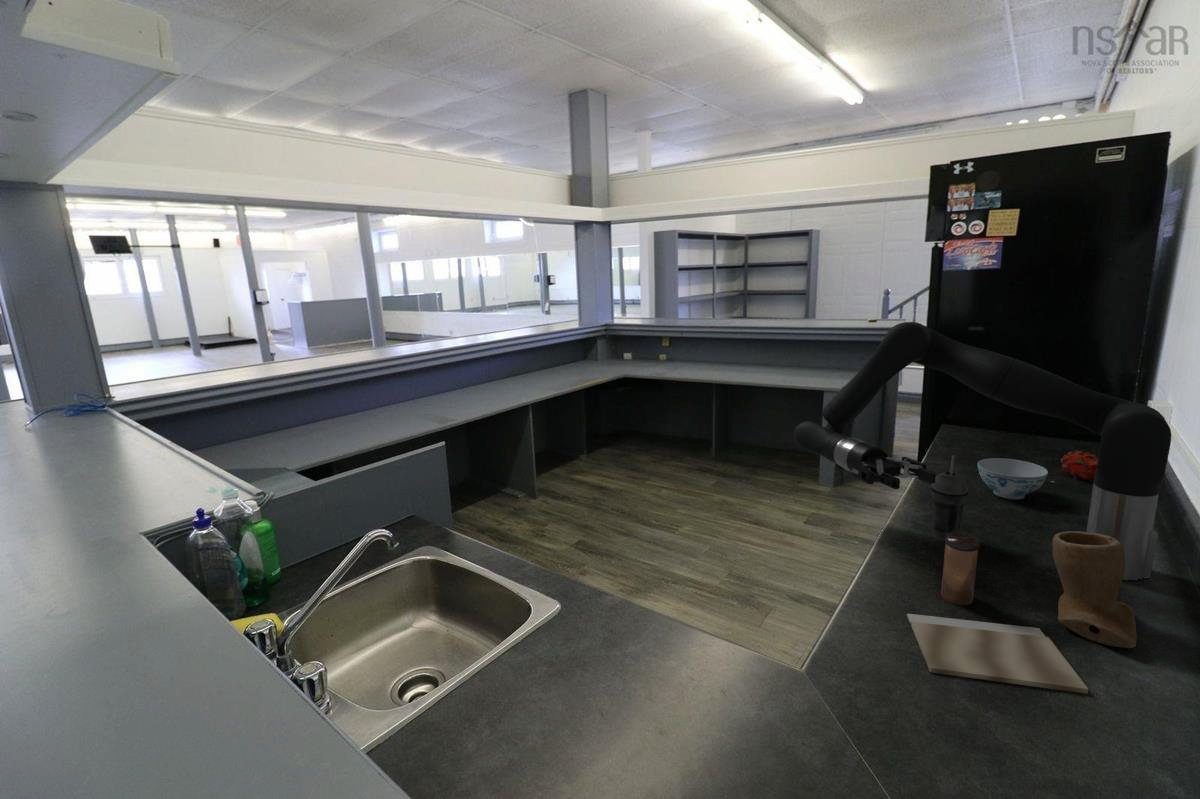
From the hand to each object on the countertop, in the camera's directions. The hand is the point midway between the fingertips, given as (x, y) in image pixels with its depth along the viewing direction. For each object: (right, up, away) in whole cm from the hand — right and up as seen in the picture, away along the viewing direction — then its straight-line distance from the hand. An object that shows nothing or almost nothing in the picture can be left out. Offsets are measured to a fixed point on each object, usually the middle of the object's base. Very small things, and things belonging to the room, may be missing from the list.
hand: (916, 481), depth 110 cm
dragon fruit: (+74, -6, +46) cm, 87 cm away
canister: (+4, -21, -7) cm, 22 cm away
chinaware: (+46, -9, +38) cm, 61 cm away
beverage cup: (+16, -15, +16) cm, 28 cm away
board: (-1, -24, -22) cm, 33 cm away
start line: (+1, -23, -15) cm, 27 cm away
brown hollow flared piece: (+21, -22, -15) cm, 34 cm away
